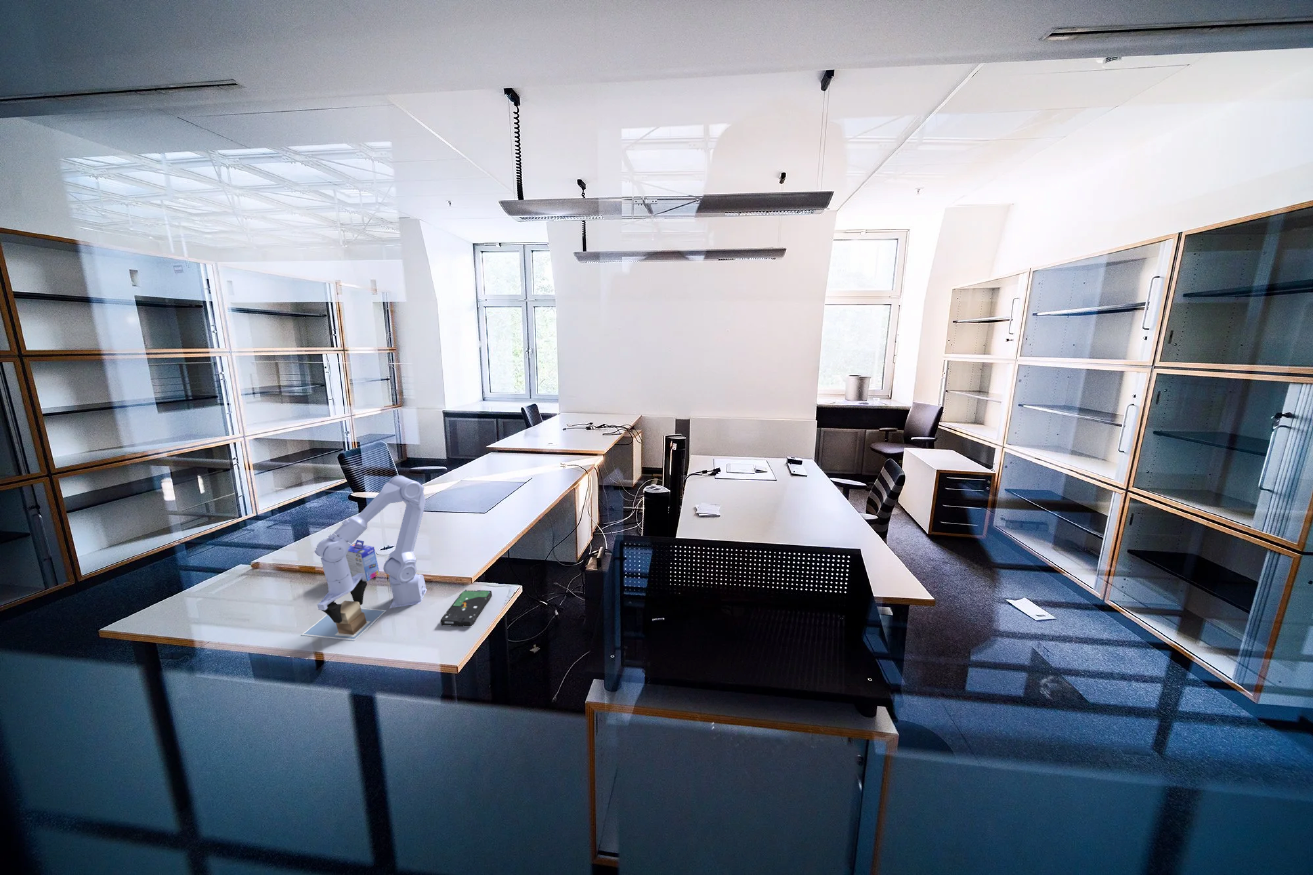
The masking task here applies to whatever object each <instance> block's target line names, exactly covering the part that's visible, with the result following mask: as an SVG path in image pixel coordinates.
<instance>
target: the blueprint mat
mask: <svg viewBox="0 0 1313 875" xmlns="http://www.w3.org/2000/svg"><path fill="white" fill-rule="evenodd" d="M361 611H362V612H364V614H365V618H366V622H367V623H366V624H365V625H364V626H363V627H362V628H360V629H359V630H358V631H357V632H356V633H355V634H354V635H350V634H340V633H339V632H338V629H337V625H336V623H334V622H333V620H332V619H331V618H330V617H329V616H328V615H327V614H324V616H323V617H322V618H320V619H319V620H318V621H317V622H315V623H314V624H313V625H311V626H310V627H309V628H308V629H307V630H305V631H304V632H303V633H301V635H300V636H302V637H313V638H321V639H332V640H343V641H351V642H355V641H356V640H357V639H358V638H359V637H361V635H362V634H363V633H364V632H365V631H366V630H368V629H369V628H370V627H371V626H372V625H373V624H374V623H375V622H377V620H378V619H380V617H382V616H383V615H384V614H385V613H386V612H387V611H388V610H387V609H379V608H378V609H377V608H368V607H367V608H366V607H361Z"/></svg>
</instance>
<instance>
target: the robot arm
mask: <svg viewBox="0 0 1313 875" xmlns="http://www.w3.org/2000/svg"><path fill="white" fill-rule="evenodd" d="M424 490H425V487H424V486H423V485H422V484H421V483H420V482H419V481H416V480H412V479H410V478H408V477H406V476H404V475H401V474H400V475H394V476H393V477H391V478H390V479H389V480H388V482H386V483H385V484H384V485H383V486H382V489H381V490H380V491H379V492H378V494H377V495H376V496H374V498H373V499H372V500H371V501H370V502H369V503H368V504H366V505H367V506H365V508H363V510H361V512H359V514H358V515H355V516H351V517H349V518H348V519H344V520H343V521H342V522H341V524H342V525H340V526H339V527H338V528H337V529H336V530H335V531H334V532H333V533H330V534H329V535H328V536H327V538H323V539H322V540H321V541H319V542H318V543H317V545H316V547H315V550H314V553H315V554H316V556H318V557H320V561H321V564H322V565H321V566H322V569H323V573H324V576H325V580H326V582H327V587H328V588H327V591H328V592H327V593H326V594H325V596H324V597H323V598H322V600H320V602H318V603H317V604H316V605H317V608H318V610H319V611H321V612H323V613H325V615H328V616H329V617H330V618H331V619H332V620H333V622H334V623H341V622H342V616H341V605H342V604H341V603H337V602H335V601H336V600H338V599H340V598H342V597H343V596H346V595H348V594H349V593H350V595H351V598H352V600H353V601H355V602H359V603H360V606H362V605H363V602H364V595H365V592H366V591H365V590H366V588H367V587H368V586H367V585H368V581H363V580H364V579H365V574H364V573H358V574H357V575H355V576H353V577H352V576H351V572H350V569H349V565H348V561H347V558H346V555H347V553H348V548H349V547H350V545H352V544H354V543H355V542H356V541H357V540H358V538H359V537H360V536H361V535H363V533H364V532H365V531H366V530H368V524H369V522H370V521H371V520H372V519H374V518H375V517H376V516H377V515H378V514H379V513H380V512H381V511H383V510H384V509H385V508H386V507H387V506H389V505H390V504H394V503H395V504H397V503H402V502H404V504H405V510H404V512H403V517H402V521H401V525H400V529H399V533H398V537H397V541H396V544H395V548H394V550H392V551H391V552H390V553H389V555H388V558H387V560H386V561H384V562H385V563H384V564H383V572H384V573H385V574H387V575H388V577H389V580H388V581H389V584H390V589H391V594H392V598H393V600H392V601H391V602H392V603H391V604H390V606H389V609H393V608H399V607H400V608H401V607H405V606H413V605H421V603H422V601H423V599H424V596H425V595H426V593H427V590H428V589H427V585H426V582H425V577H424V574H418V573H417V571H418V570H417V566H416V563H417V558H416V555H415V553H414V550H415V546H416V543H417V540H418V539H417V538H418V536H419V535H418V534H419V531H420V527H421V522H422V519H423V515H424V511H425V507H426V502H427V501H426V500H427V499H426V497H425V493H424Z"/></svg>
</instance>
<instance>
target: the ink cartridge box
mask: <svg viewBox="0 0 1313 875" xmlns="http://www.w3.org/2000/svg"><path fill="white" fill-rule="evenodd" d="M364 543H365V541H364V540H361V539H356V540H355V542H353V543H352V544H351V545H350V547H349V548H348V553H347V555H346V558H347V561H348V565H349V569H350V572H351V576H352V577H353V576H355V575H357V574H358V573H364V574H365V579H364V580H363V581H366V582H369V581H371V579H373V578H375V577H377V576H378V575H379V572H380V569H379V564H378V560H377V556H376V554H377V553H376V550H375V546H371V545H366V544H364ZM379 576H380V575H379Z"/></svg>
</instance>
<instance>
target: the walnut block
mask: <svg viewBox="0 0 1313 875" xmlns="http://www.w3.org/2000/svg"><path fill="white" fill-rule="evenodd" d="M366 623H367V622H366V618H365V614H364V612H362V613H361V614H359V615H358V616H357V617H356V618H355V619H354V620H353V621H351V622H350V623H349V624H343V623H336V625H337V629H338V632H339V633H340V634H350V635H354V634H355V633H356V632H357V631H358V630H359V629H360V628H362V627H363V626H364V625H365V624H366Z"/></svg>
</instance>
